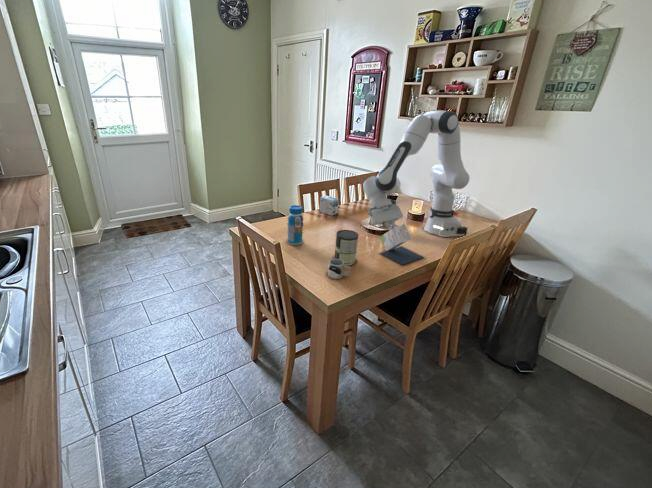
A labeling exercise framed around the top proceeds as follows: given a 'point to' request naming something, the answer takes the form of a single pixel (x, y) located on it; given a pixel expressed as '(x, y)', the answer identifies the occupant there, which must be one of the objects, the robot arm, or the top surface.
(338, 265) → the mug
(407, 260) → the mat
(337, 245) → the coffee can
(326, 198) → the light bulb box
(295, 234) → the beverage bottle
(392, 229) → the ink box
